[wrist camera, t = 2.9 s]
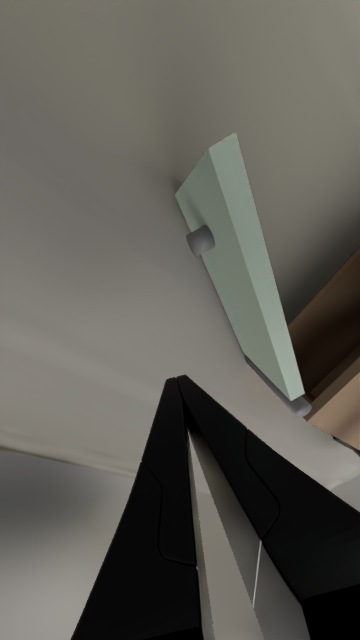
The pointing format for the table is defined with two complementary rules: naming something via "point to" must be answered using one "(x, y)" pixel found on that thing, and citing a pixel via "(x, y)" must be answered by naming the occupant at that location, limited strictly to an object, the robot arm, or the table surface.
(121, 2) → the table surface
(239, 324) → the door
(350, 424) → the cabinet
